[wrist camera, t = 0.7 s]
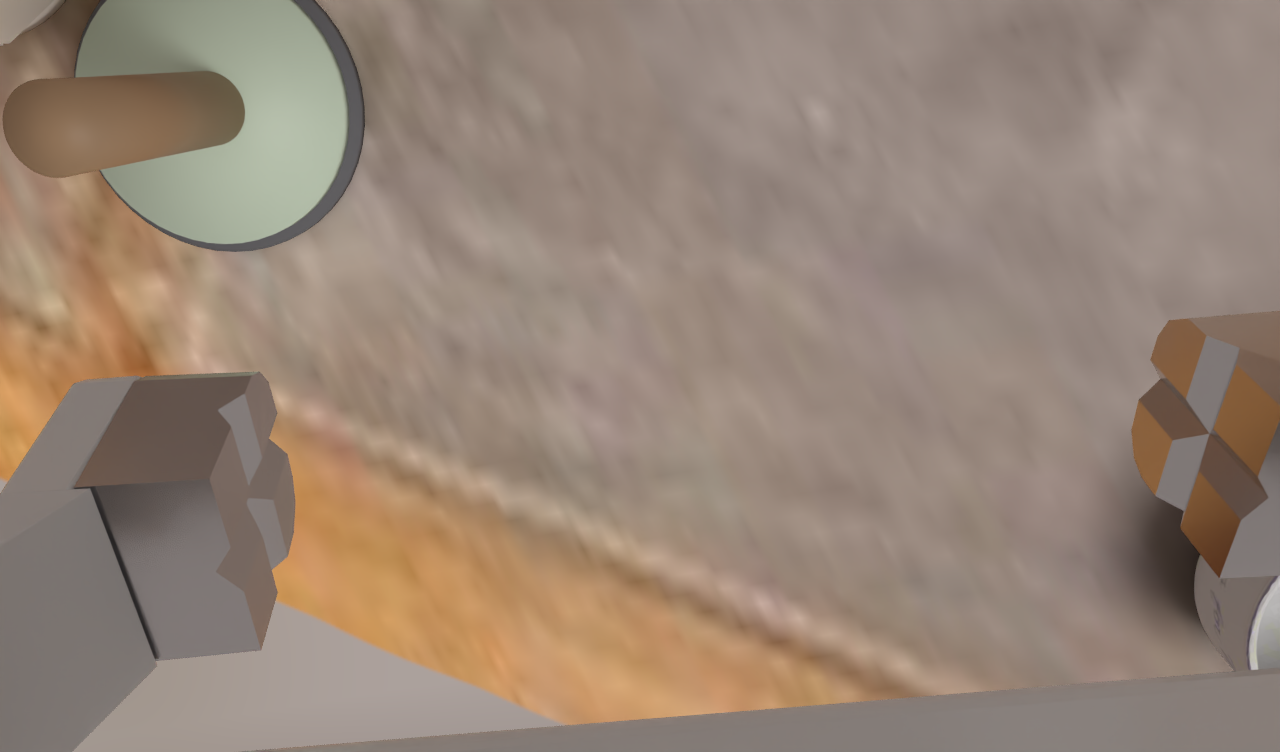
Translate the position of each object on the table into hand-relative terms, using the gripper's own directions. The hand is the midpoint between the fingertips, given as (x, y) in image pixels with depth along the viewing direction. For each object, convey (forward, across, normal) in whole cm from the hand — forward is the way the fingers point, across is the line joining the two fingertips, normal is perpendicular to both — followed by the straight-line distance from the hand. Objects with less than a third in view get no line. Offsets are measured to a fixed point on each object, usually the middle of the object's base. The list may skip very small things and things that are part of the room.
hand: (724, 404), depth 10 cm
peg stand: (+40, +16, +10) cm, 44 cm away
